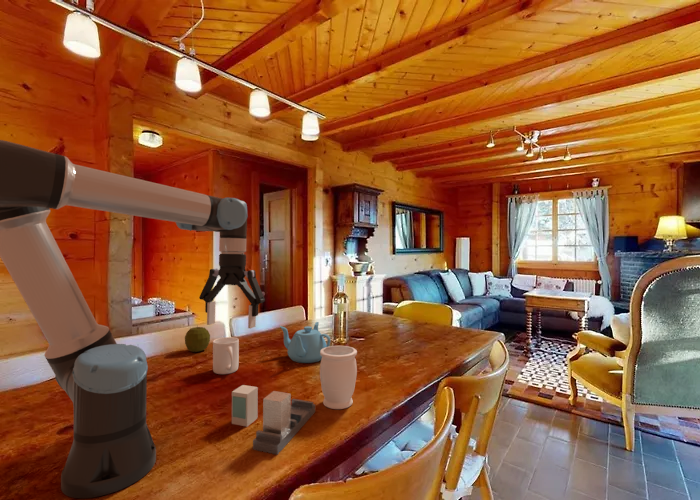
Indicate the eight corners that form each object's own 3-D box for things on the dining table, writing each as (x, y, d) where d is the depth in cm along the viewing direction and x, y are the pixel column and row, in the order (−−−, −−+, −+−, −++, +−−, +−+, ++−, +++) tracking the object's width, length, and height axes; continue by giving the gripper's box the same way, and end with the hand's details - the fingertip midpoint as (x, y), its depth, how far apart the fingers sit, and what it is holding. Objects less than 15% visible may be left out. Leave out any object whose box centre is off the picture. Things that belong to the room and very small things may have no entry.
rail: (277, 454, 73) (277, 407, 73) (253, 449, 75) (253, 403, 75) (315, 411, 92) (315, 374, 92) (294, 408, 94) (295, 372, 94)
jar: (336, 392, 105) (337, 343, 105) (363, 401, 98) (364, 349, 98) (311, 404, 96) (312, 350, 96) (339, 415, 90) (340, 358, 90)
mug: (218, 380, 113) (218, 347, 113) (210, 369, 123) (210, 339, 123) (244, 374, 118) (244, 343, 118) (234, 364, 128) (235, 336, 128)
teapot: (277, 355, 139) (277, 325, 139) (317, 348, 150) (317, 320, 150) (295, 368, 125) (295, 334, 125) (338, 359, 135) (338, 328, 135)
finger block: (246, 427, 84) (246, 394, 84) (230, 424, 85) (231, 392, 85) (257, 418, 88) (257, 387, 88) (242, 415, 90) (242, 384, 90)
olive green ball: (201, 355, 138) (201, 328, 138) (179, 353, 140) (179, 327, 140) (214, 348, 148) (214, 322, 148) (194, 346, 150) (194, 321, 150)
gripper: (277, 254, 101) (275, 326, 101) (204, 252, 107) (203, 320, 107) (265, 254, 94) (263, 331, 94) (187, 252, 100) (185, 324, 100)
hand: (231, 325), depth 100 cm, fingers open, 13 cm apart
